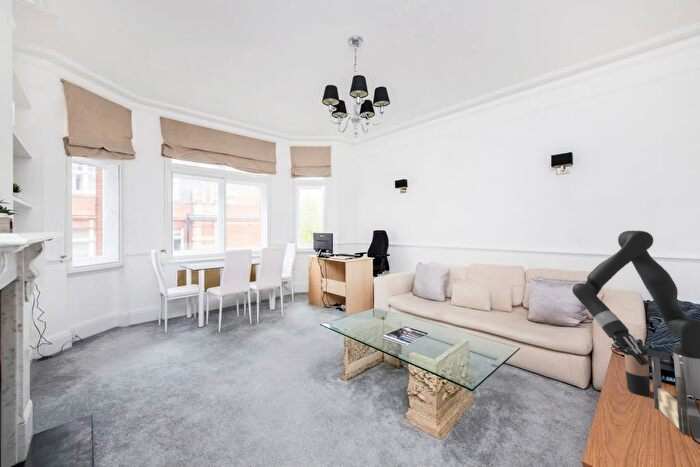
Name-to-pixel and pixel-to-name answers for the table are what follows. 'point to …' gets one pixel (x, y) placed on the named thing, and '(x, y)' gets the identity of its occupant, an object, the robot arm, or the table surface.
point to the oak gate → (675, 405)
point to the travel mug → (637, 375)
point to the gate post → (656, 379)
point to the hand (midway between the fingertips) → (645, 364)
